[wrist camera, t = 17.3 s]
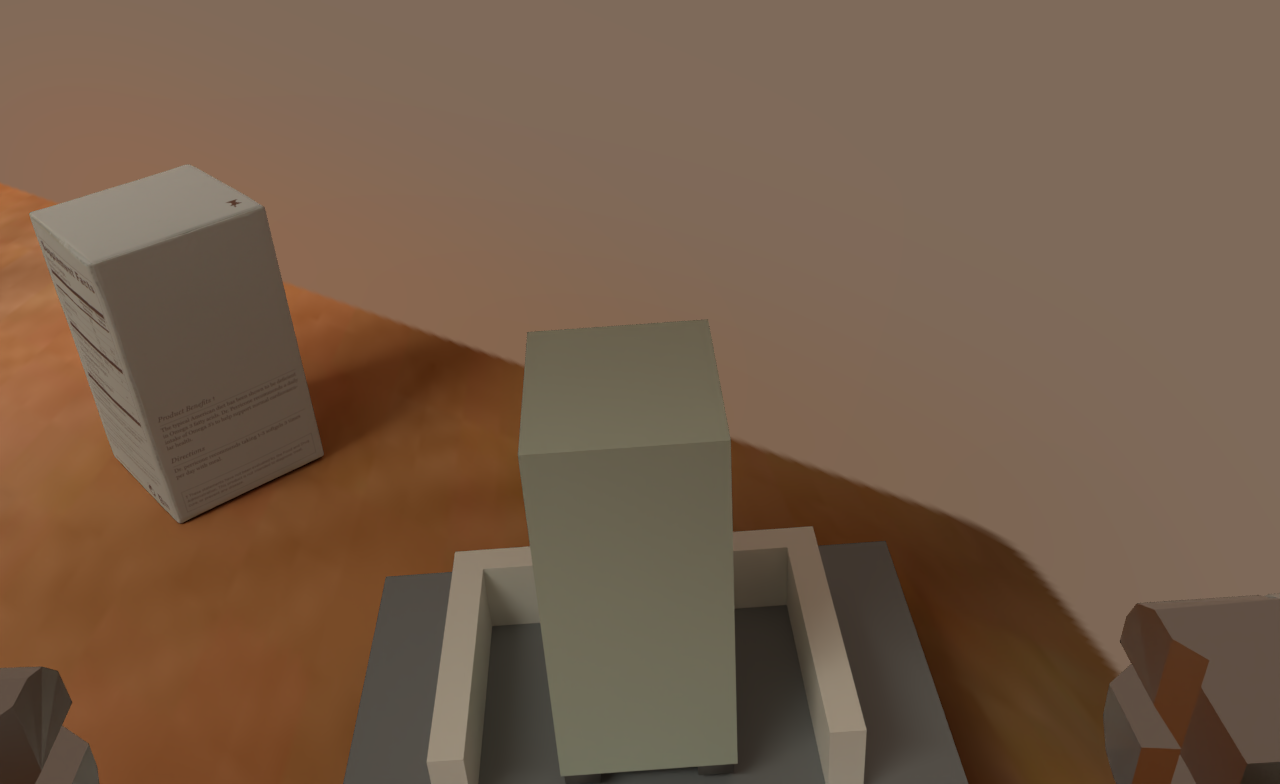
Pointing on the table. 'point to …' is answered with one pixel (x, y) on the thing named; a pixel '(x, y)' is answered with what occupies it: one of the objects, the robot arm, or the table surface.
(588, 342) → the pale green footed pillar
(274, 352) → the supplement box
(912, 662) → the dock
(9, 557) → the table surface
